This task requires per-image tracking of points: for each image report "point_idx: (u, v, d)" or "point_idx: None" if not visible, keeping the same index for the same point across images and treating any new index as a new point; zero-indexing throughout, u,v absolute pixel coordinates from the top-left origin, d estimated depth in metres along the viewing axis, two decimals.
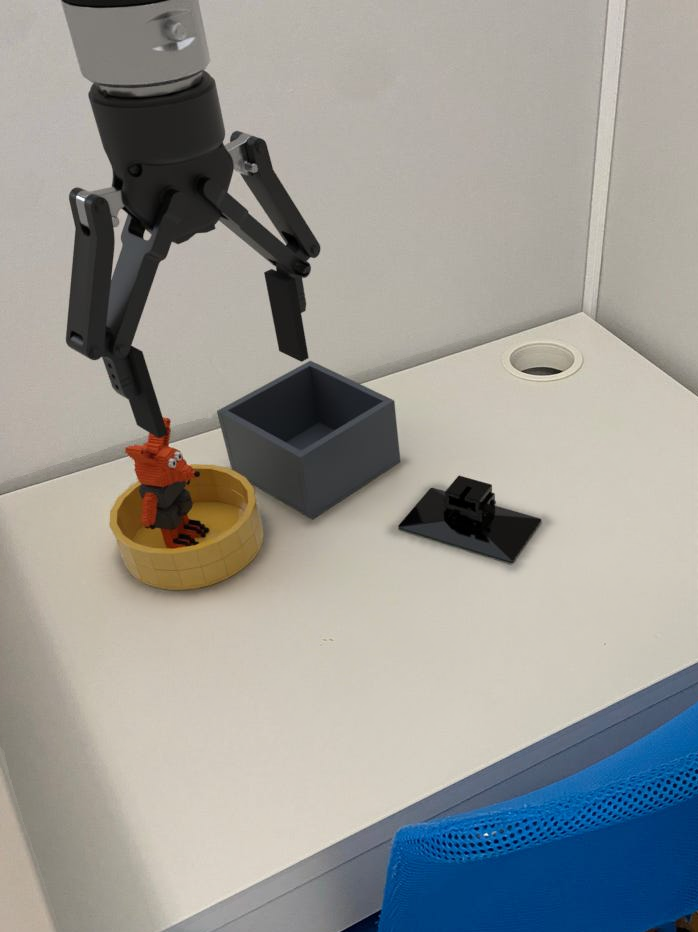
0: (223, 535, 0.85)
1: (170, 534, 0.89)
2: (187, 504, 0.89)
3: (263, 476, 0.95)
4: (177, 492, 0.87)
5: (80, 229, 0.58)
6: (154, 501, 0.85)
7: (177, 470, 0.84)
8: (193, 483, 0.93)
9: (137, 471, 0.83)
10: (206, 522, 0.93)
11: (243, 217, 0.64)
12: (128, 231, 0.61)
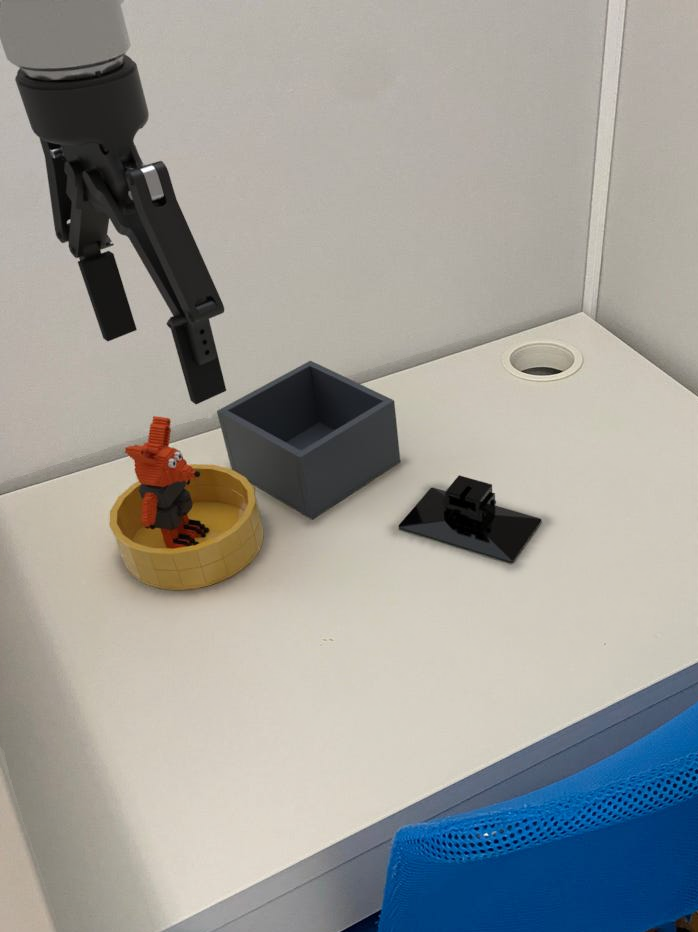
0: (223, 535, 0.85)
1: (170, 534, 0.89)
2: (187, 504, 0.89)
3: (263, 476, 0.95)
4: (177, 492, 0.87)
5: (151, 206, 0.61)
6: (154, 501, 0.85)
7: (177, 470, 0.84)
8: (193, 483, 0.93)
9: (137, 471, 0.83)
10: (206, 522, 0.93)
11: None
12: (125, 215, 0.63)
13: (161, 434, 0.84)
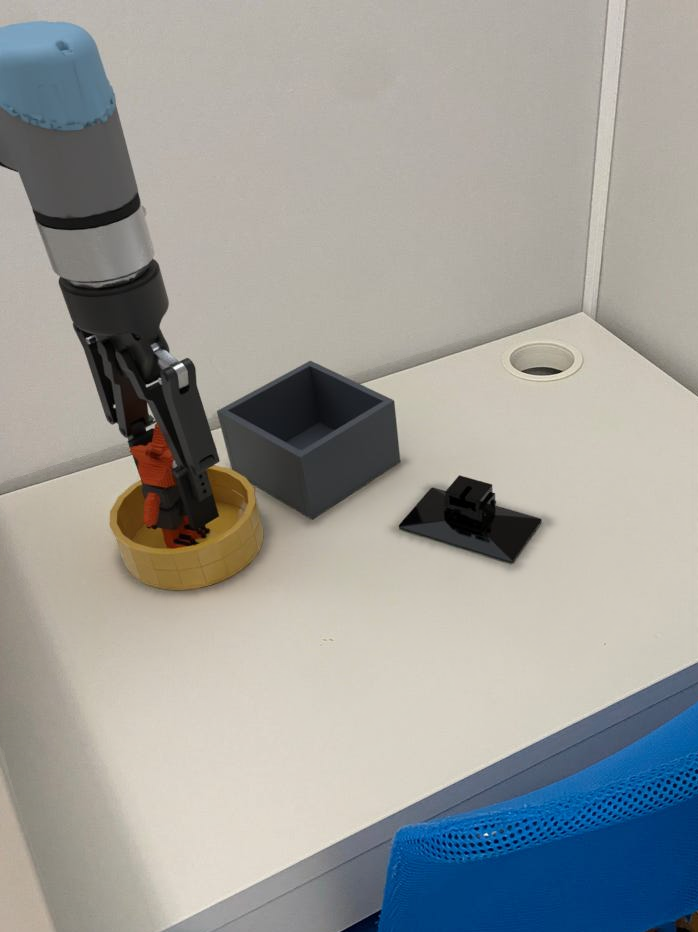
0: (223, 535, 0.85)
1: (171, 534, 0.88)
2: None
3: (263, 476, 0.95)
4: None
5: (178, 394, 0.74)
6: (157, 501, 0.84)
7: None
8: None
9: (141, 471, 0.83)
10: None
11: None
12: (149, 389, 0.76)
13: None
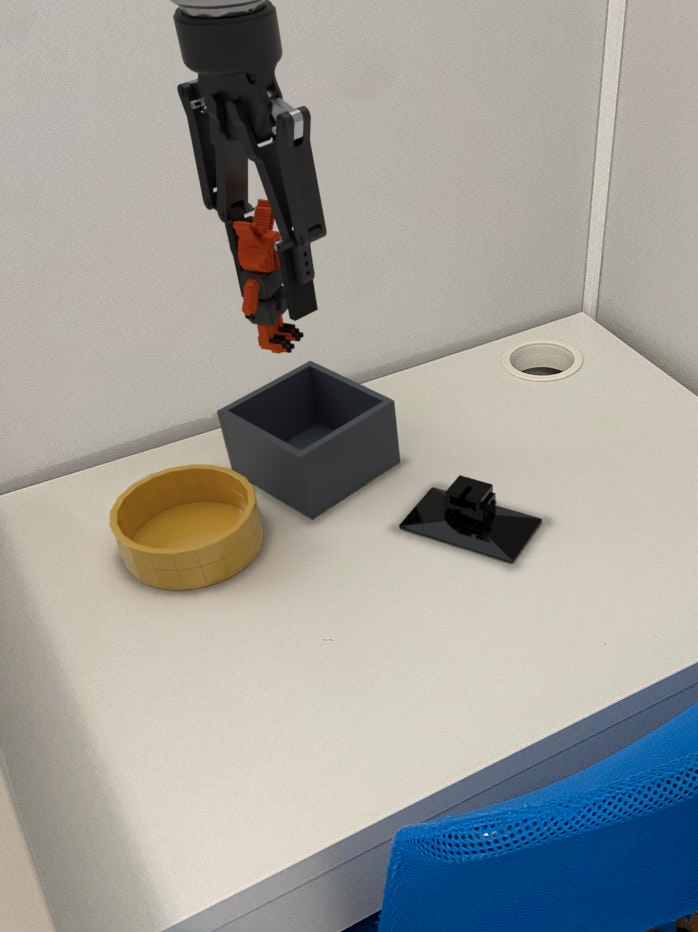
0: (223, 535, 0.85)
1: (267, 332, 0.86)
2: (285, 302, 0.86)
3: (263, 476, 0.95)
4: (277, 285, 0.84)
5: (292, 145, 0.71)
6: (256, 288, 0.82)
7: None
8: (193, 483, 0.93)
9: (241, 253, 0.81)
10: (206, 522, 0.93)
11: None
12: (259, 147, 0.73)
13: (267, 216, 0.81)
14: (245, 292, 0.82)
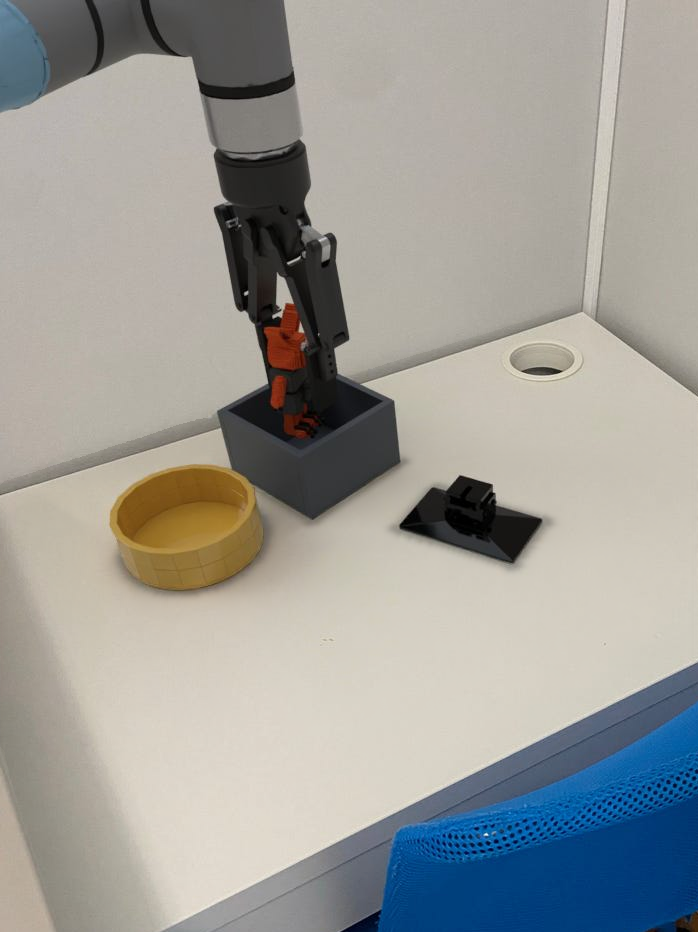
0: (223, 535, 0.85)
1: (292, 420, 0.93)
2: (308, 392, 0.94)
3: (263, 476, 0.95)
4: (302, 378, 0.92)
5: (320, 267, 0.79)
6: (284, 384, 0.89)
7: None
8: (193, 483, 0.93)
9: (270, 353, 0.88)
10: (206, 522, 0.93)
11: None
12: (289, 266, 0.81)
13: (294, 319, 0.88)
14: (274, 387, 0.89)
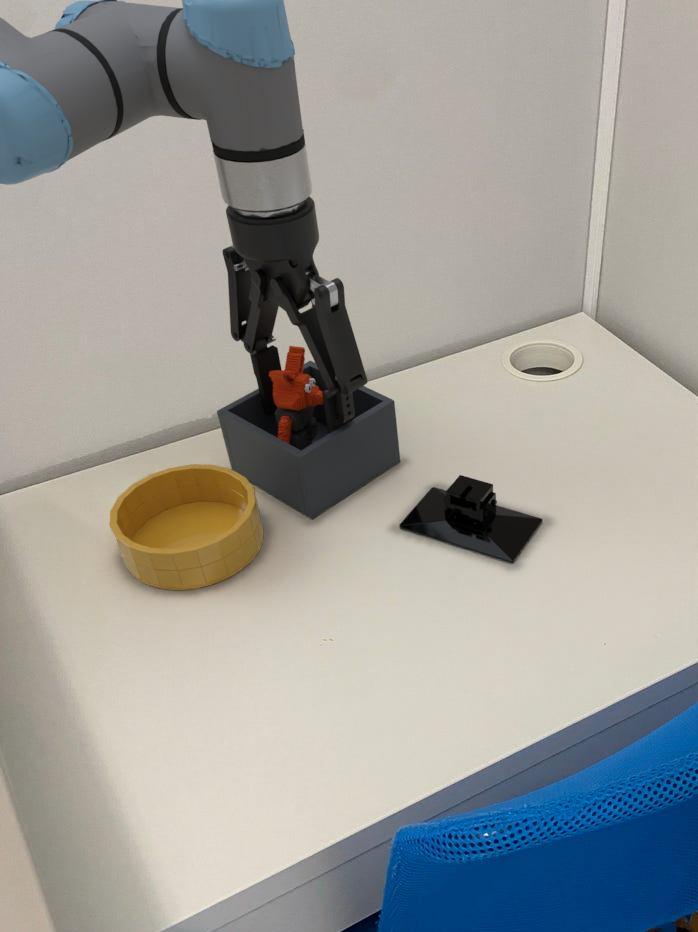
0: (223, 535, 0.85)
1: None
2: (314, 430, 0.97)
3: (263, 476, 0.95)
4: (307, 417, 0.95)
5: (329, 312, 0.82)
6: (289, 424, 0.93)
7: (312, 395, 0.92)
8: (193, 483, 0.93)
9: (276, 395, 0.91)
10: (206, 522, 0.93)
11: None
12: (301, 313, 0.84)
13: (297, 362, 0.92)
14: (280, 428, 0.93)
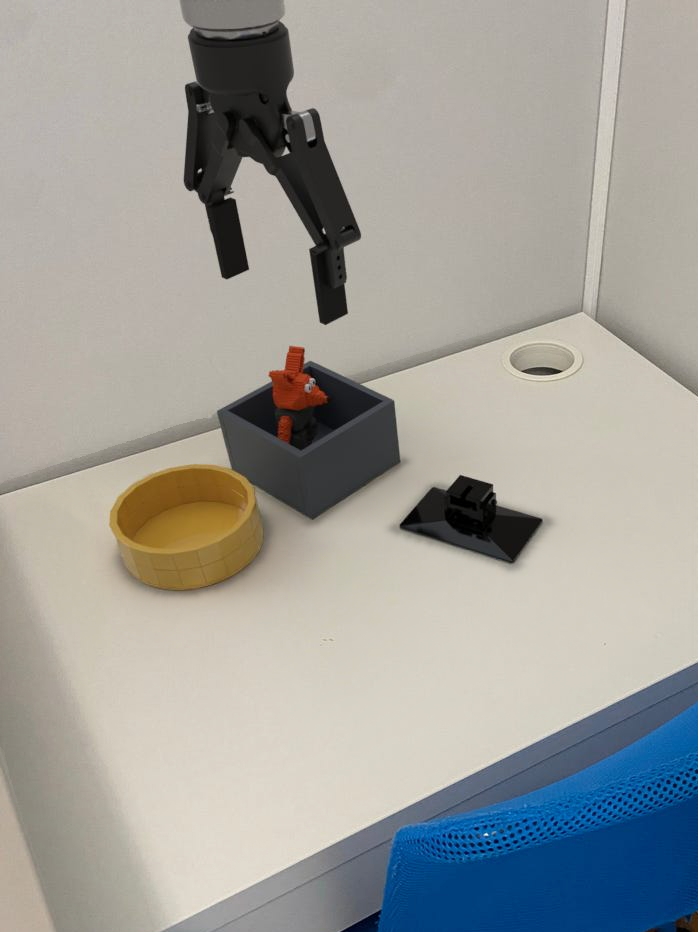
0: (223, 535, 0.85)
1: None
2: (314, 430, 0.97)
3: (263, 476, 0.95)
4: (307, 417, 0.95)
5: (306, 146, 0.72)
6: (289, 424, 0.93)
7: (312, 395, 0.92)
8: (193, 483, 0.93)
9: (276, 395, 0.91)
10: (206, 522, 0.93)
11: None
12: (276, 157, 0.74)
13: (297, 362, 0.92)
14: (279, 428, 0.93)
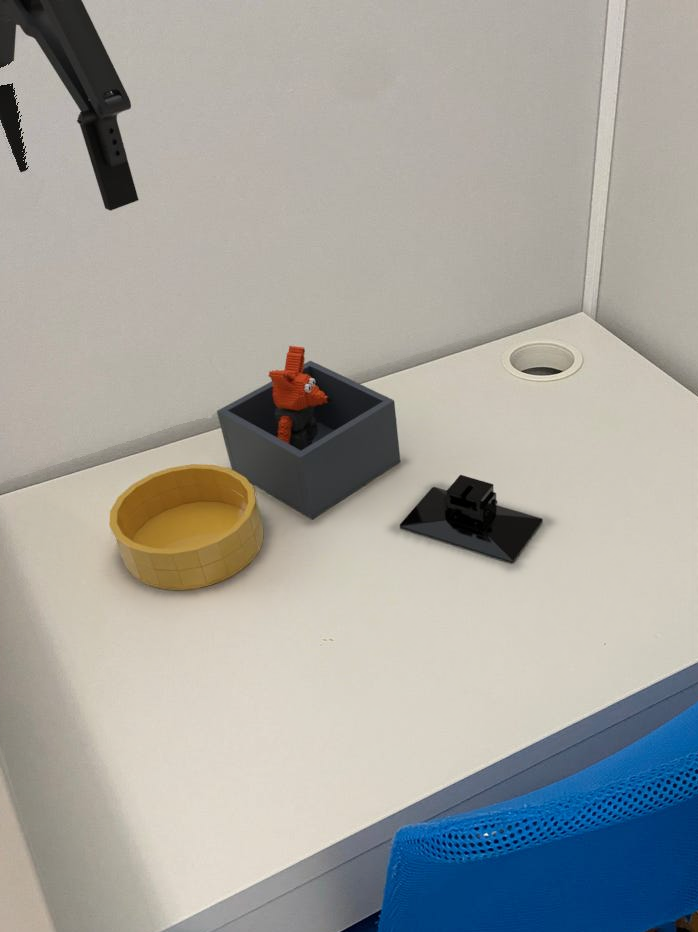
0: (223, 535, 0.85)
1: None
2: (314, 430, 0.97)
3: (263, 476, 0.95)
4: (307, 417, 0.95)
5: None
6: (289, 424, 0.93)
7: (312, 395, 0.92)
8: (193, 483, 0.93)
9: (276, 395, 0.91)
10: (206, 522, 0.93)
11: None
12: (30, 14, 0.68)
13: (297, 362, 0.92)
14: (279, 428, 0.93)
